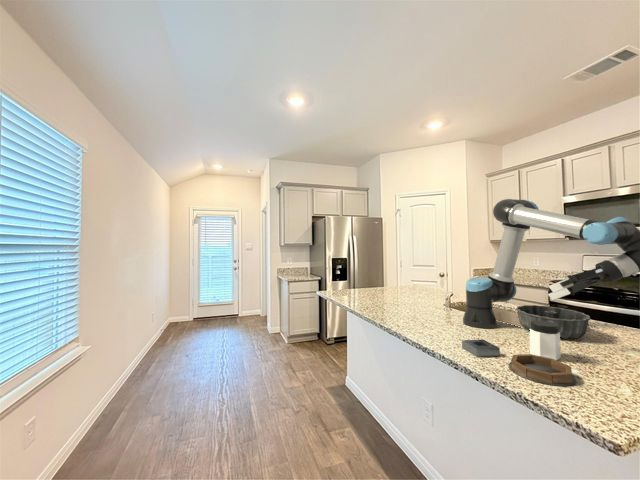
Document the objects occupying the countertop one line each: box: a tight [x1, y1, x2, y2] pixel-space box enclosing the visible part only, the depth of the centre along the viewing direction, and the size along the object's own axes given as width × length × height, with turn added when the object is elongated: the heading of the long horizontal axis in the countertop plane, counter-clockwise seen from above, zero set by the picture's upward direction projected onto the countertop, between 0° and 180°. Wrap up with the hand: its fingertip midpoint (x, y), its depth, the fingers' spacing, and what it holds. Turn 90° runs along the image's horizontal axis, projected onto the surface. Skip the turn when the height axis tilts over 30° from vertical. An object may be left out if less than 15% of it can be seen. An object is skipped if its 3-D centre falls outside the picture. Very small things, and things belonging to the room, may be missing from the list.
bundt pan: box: [515, 304, 591, 340], centre depth 128 cm, size 26×26×10 cm
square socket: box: [461, 339, 501, 358], centre depth 106 cm, size 9×9×3 cm
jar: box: [529, 321, 561, 361], centre depth 102 cm, size 9×8×12 cm
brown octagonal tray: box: [508, 353, 577, 387], centre depth 89 cm, size 17×17×3 cm
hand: (550, 293), depth 107 cm, fingers open, 13 cm apart
